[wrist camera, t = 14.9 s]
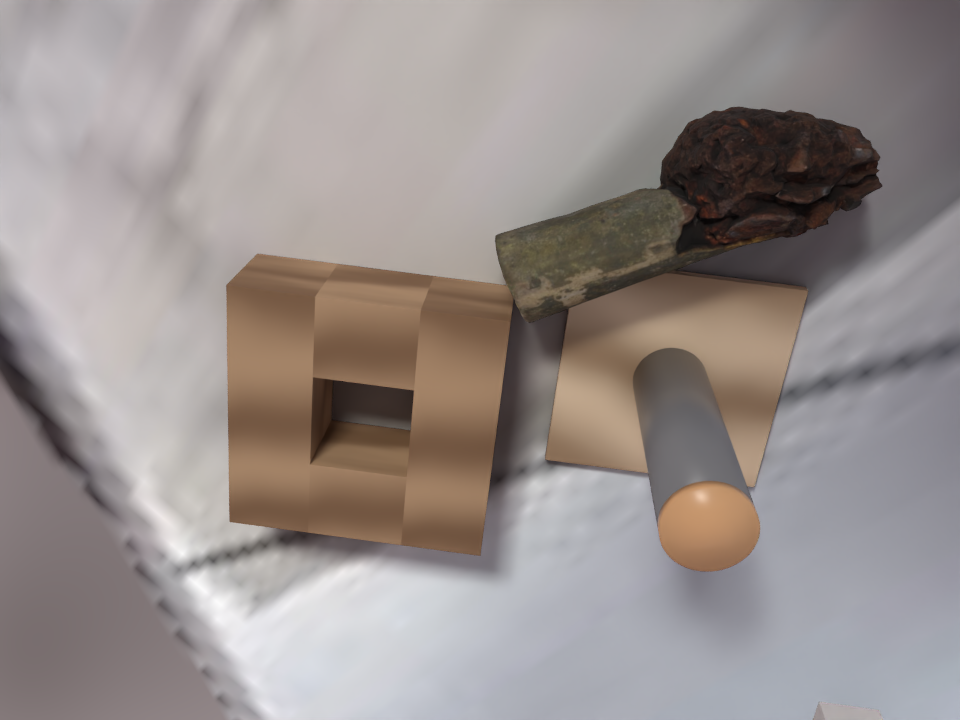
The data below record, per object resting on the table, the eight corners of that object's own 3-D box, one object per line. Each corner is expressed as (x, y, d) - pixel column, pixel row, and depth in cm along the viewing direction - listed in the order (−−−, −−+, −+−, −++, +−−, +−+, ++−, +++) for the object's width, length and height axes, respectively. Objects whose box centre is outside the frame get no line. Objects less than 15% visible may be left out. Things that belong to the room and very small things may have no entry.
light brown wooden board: (576, 258, 47) (576, 261, 47) (805, 286, 47) (808, 290, 47) (545, 454, 52) (545, 459, 52) (752, 481, 52) (754, 487, 52)
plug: (640, 342, 48) (670, 482, 36) (714, 353, 48) (771, 496, 36) (626, 408, 50) (650, 563, 37) (698, 418, 50) (746, 577, 37)
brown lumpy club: (529, 310, 48) (526, 345, 43) (484, 191, 46) (475, 212, 41) (866, 196, 45) (908, 219, 39) (833, 62, 43) (873, 67, 37)
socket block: (257, 253, 49) (226, 285, 44) (515, 286, 48) (510, 321, 44) (256, 474, 55) (229, 521, 50) (486, 504, 54) (480, 555, 50)
